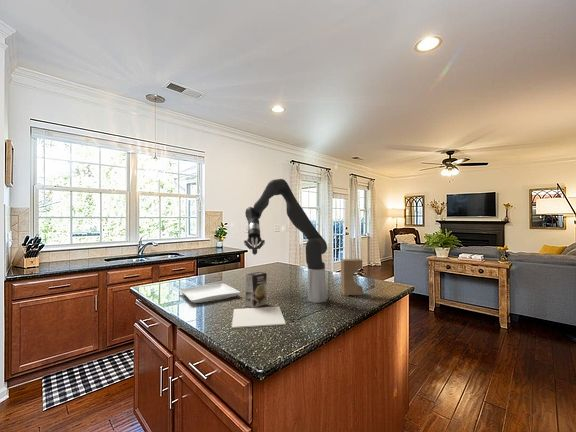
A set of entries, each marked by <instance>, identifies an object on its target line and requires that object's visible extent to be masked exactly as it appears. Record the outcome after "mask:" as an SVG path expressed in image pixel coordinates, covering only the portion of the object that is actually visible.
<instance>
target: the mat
mask: <svg viewBox="0 0 576 432" xmlns="http://www.w3.org/2000/svg"><path fill="white" fill-rule="evenodd" d="M232 313H233V314H232V322H231V329H242V328H257V327H272V326H286V324H287V323H286V320H285V317H284V316H283V313H282V309H281V307H280V306H266V307H265V306H264V307H256V308H251V307H247V308H246V307H245V308H234V309H233V312H232Z"/></svg>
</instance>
